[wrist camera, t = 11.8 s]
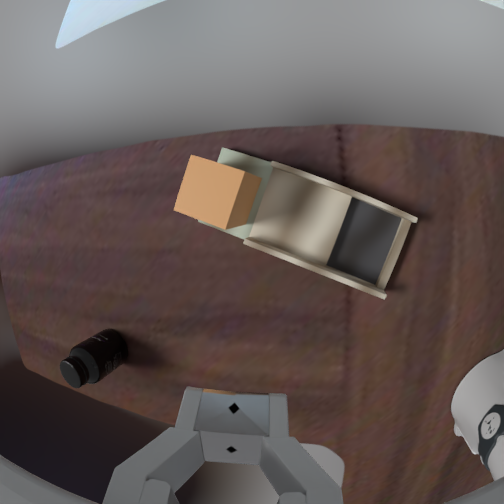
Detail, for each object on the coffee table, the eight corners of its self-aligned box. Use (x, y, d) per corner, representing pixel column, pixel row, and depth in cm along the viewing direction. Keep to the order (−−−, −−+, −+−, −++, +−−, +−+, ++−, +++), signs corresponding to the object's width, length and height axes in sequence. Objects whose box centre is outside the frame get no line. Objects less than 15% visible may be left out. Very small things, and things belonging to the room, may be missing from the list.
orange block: (261, 178, 36) (244, 171, 28) (245, 224, 37) (225, 229, 30) (217, 163, 37) (191, 154, 29) (203, 208, 38) (173, 209, 31)
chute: (409, 216, 34) (417, 218, 30) (379, 291, 36) (384, 299, 33) (226, 148, 38) (217, 143, 35) (202, 221, 40) (191, 223, 37)
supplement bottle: (111, 321, 47) (64, 347, 35) (135, 353, 47) (92, 386, 35) (94, 338, 49) (50, 364, 37) (116, 368, 49) (76, 399, 37)
